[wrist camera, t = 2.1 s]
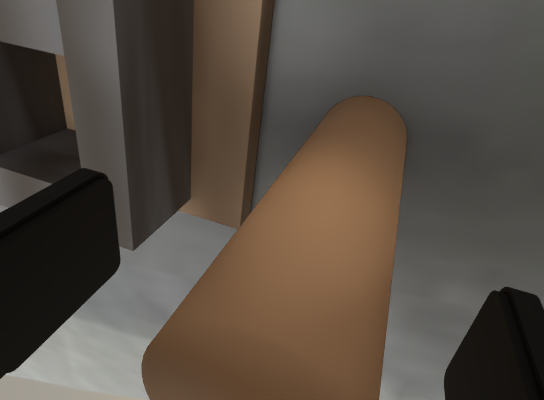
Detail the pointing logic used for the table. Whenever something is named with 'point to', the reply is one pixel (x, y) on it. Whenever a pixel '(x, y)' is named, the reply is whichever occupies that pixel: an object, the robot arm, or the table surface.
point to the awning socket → (135, 103)
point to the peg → (298, 277)
